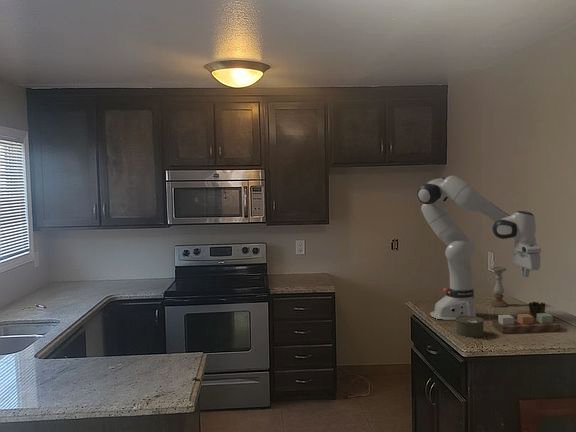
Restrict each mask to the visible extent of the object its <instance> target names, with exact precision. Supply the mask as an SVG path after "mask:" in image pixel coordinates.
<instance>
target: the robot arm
mask: <svg viewBox="0 0 576 432" xmlns="http://www.w3.org/2000/svg"><path fill="white" fill-rule="evenodd" d="M416 196H417V199H418V201H419V202H420V203H421V204H422V205H421V207H420V210H421V213H422V214H423V217H424V219H425V221H426V222H427V223H428V225H429V227H430V228H431V230H432V231H433V232H434V234H435V236H437V238H438V239H439V240H440V241H442V242H443V243H444V244H445V245H446V248H445V254H444V255H445V258H446V259H447V266H448V271H449V287H448V288H446V287H444V288H443V289H442V291H443V292H444V293H445V296H444V297H442V298H441V299H440V300H438V301H437V302H436V303H435V305H434V311H431V312H429V315H431V316H432V317H434V318H436V319H435V320H437V319H443V320H442V321H456V318H457V317H460V316H476V317H477V314H476V310H475V304H474V303H475V302H474V298H475V292H474V290H475V289H474V287H473V286H474V285H473V284H474V283H473V278H474V276H473V272H472V271H473V270H472V267H471V258H472V257H473V256H474V255H475V253H476V245H475V243H474V241H473V240H471V239H470V238H469V237H468V235H466V233H464V231H463V230H462V229H461V228H460V227H459V226H458V225H457V224H456V222H455V221H454V220H453V218H452V217H451V216H450V214H449V213H448V211H447V210H446V208H445V207H444V205H443V202H446V201H447V199H450V200H451V201H452V202H453V203H454V204H456V205H457V206H458V207H460V208H461V209H463V210H465V211H471V212H477V213H481V214H483V215H485V216H486V217H488V218H489V219H490V220H492V221H493V222H494V223H493V225H492V232H493V235H494V236H495V237H496V238H498V239H502V240H508V239H511V238H512V239H514V248H513V249H512V253H511V261H512V264H514V265H516V266H519V267H520V271H521V276H522V277H525V278H529V277H530V273H531V271H539V270H540V268H541V254H540V253H541V252H542V249H541V247H540V246H539V245H538V244H537V240H536V232H537V231H536V230H537V228H536V227H537V226H536V218H535V215H534V214H533V213H532V212H530V211H526V210H518V211H516V212H514V213H513V214H508V213H506V212H505V211H503V209H500V208H499V207H498V206H496V205H495V204H494V203H493V202H491V201H489V200H488V199H487V198H485V196H483V195H482V194H481V193H480V192H479V191H478V190H476V189H475V187H473V186H471V184H469V183H467V181H465V180H463V179H462V178H460V177H458V176H457V175H449V176H447V177H437V178H436V179H431V180H430V181H428V182H426V183H424V184H422V185H420V186H419V187H418V189H417V192H416ZM431 316H430V317H431ZM432 317H431V318H432ZM434 318H433V319H434Z"/></svg>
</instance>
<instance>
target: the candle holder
mask: <svg viewBox="0 0 576 432" xmlns="http://www.w3.org/2000/svg"><path fill="white" fill-rule="evenodd" d="M490 270H491V271H493V272H494V273H495V277H494V278H495V284H494V285H495V286H494V287H493V294H494V295H493V296H494V298H495V299H494V300H491V302H490V306H492V307H497V308H504V307H505V308H506V307H508V306H509V304H508V302H506V301H505V300H503V298H504V295H503V294H505V288H504V286H503V282H502V279H503V276H502V275H503V273H504V272H506V271H507V268H506V267H501V266H495V267H492V268H490Z"/></svg>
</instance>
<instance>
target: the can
mask: <svg viewBox="0 0 576 432" xmlns="http://www.w3.org/2000/svg"><path fill="white" fill-rule="evenodd" d="M484 322H485V320H484V318H482V317H479V316H477V315H476V316H460V317H457V318H456V320H455V323H456V324H455V325H456V326H455V328H456V330H455V331H456V332H455V333H457V334H458V335H457V334H456V335H457V336H459V335H461V336H460V337H462V336H465V337H464V338H467V337H478V338H481V336H482V337H483V336H484Z"/></svg>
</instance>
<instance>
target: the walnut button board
mask: <svg viewBox="0 0 576 432" xmlns="http://www.w3.org/2000/svg"><path fill="white" fill-rule="evenodd" d="M491 324H492V325H491V326H492V327H493V328H494V329H496V330H497V331H499V332H500V333H502V335H505V334H507V335H509V334H525V333H528V334H529V333H549V332H551V333H552V332H553V333H554V332H561V324H560V323H557V322H555V321H554V320H553V323H540V322H538V321H537V318H533V324H521V323H519V322H518V320H517V318H514V325H502V324H500V323H498V319H492V320H491Z"/></svg>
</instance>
